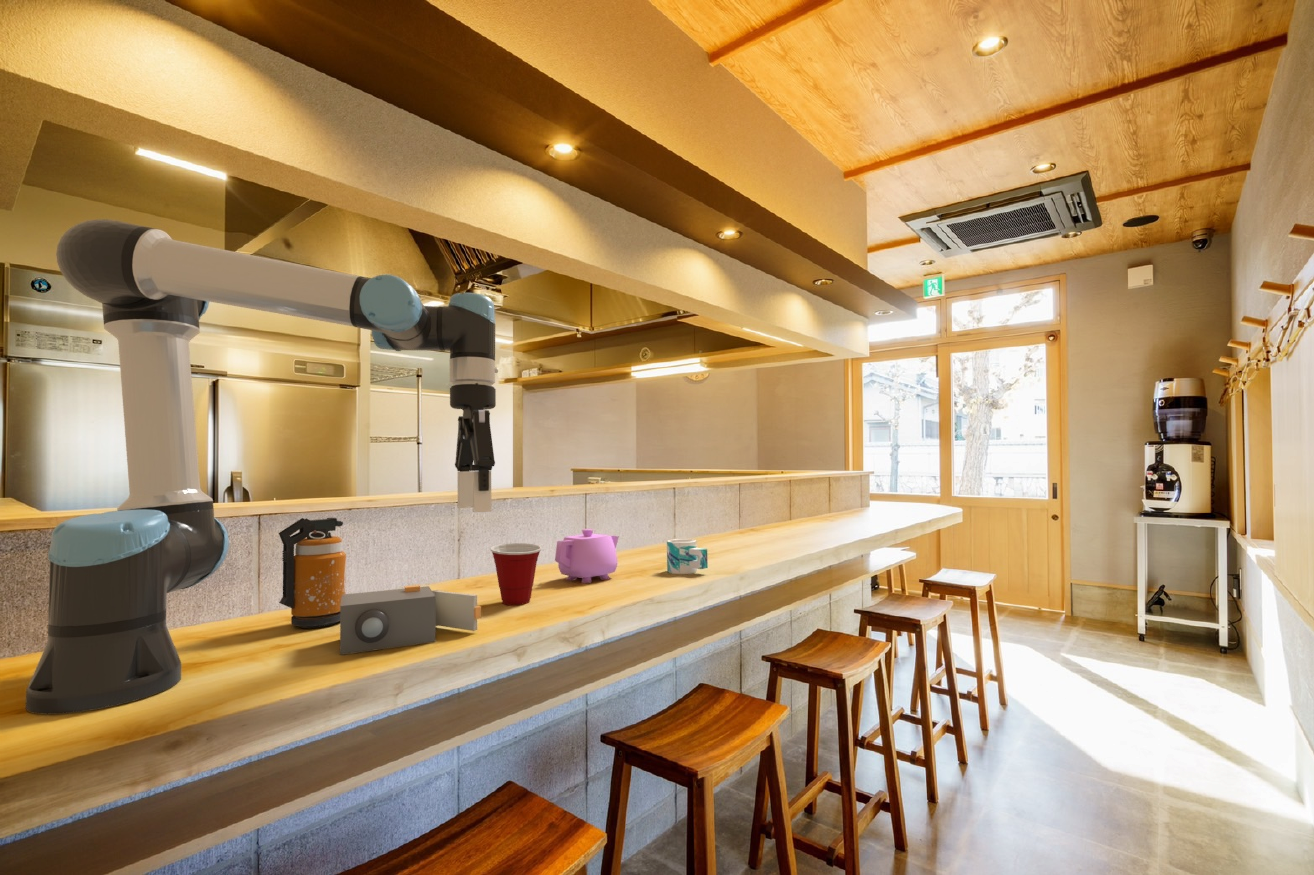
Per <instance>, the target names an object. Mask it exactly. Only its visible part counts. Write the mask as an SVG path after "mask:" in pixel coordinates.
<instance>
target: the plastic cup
mask: <svg viewBox="0 0 1314 875" xmlns="http://www.w3.org/2000/svg"><path fill="white" fill-rule="evenodd" d="M542 548H543V547H542V546H541V545H540V544H535V543H525V542H524V543H523V542H521V543H519V542H513V543H511V542H510V543H501V544H500V543H499V544H496V545H493V546H491V547H490V549H489V550H490V552H491V553H492V557H493V561H494V562H493V563H494V564H495V565H494V566H495V572H496V577H497V582H498V588H499V592H500V597H501V602H502V604H503V605H507V606H518V605H519V606H520V605H525V604H529V603H530V602H531V598H532V593H533V586H534V581H535V575H536V569H537V562H538V558H539V556H540V552H541V551H542V550H543V549H542Z"/></svg>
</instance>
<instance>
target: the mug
mask: <svg viewBox="0 0 1314 875" xmlns="http://www.w3.org/2000/svg"><path fill="white" fill-rule="evenodd" d="M666 564H667V565H666V567H667V568H666V569H667V570H666V572H667V573H668V572H669V574H671V573H672V574H674V575H690V574H694V573H695V572H696V573H697V572H698V570H705V569H708V549H707V548H699V547H698V544H697V539H692V538H674V539H668V540H666Z"/></svg>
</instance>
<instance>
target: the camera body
mask: <svg viewBox="0 0 1314 875" xmlns="http://www.w3.org/2000/svg"><path fill="white" fill-rule="evenodd" d="M432 591H433V590H432V589H431V587H430V586H429V585H428V586H427V585H426V586H421V585H420V584H413V585H412V584H411V585H405V586H404V588H396V589H387V590H377V591H376V590H375V591H367V592H366V591H363V592H354V593H346V594H343V595H342V596H341V605H340V621H339V624H340V625H339V626H340V628H339V629H340V630H339V631H340V632H339V656H341V655H342V656H343V655H349V654H356V653H364V652H370V651H378V650H386V649H387V650H388V649H393V648H399V647H407V646H409V647H410V646H415V645H416V646H417V645H422V644H423V645H424V644H429V643H436V626H435V595H434V593H433V592H432Z"/></svg>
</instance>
